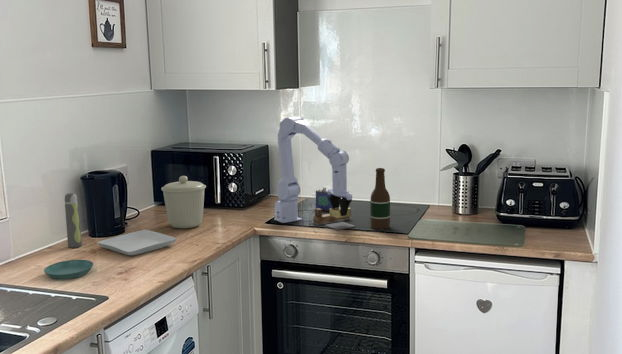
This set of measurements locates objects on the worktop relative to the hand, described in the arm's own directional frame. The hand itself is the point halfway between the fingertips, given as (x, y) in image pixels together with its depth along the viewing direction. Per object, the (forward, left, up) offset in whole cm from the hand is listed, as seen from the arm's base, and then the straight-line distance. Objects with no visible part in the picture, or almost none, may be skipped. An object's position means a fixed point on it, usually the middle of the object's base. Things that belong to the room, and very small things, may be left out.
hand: (339, 214), depth 246 cm
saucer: (-104, +2, -6) cm, 104 cm away
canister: (-51, +39, -5) cm, 64 cm away
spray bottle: (-96, +34, -5) cm, 102 cm away
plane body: (+2, +9, -5) cm, 10 cm away
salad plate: (-77, +19, -6) cm, 80 cm away
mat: (0, 0, -5) cm, 5 cm away
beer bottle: (+12, -11, -5) cm, 17 cm away
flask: (+11, +28, -5) cm, 31 cm away
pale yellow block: (0, 0, 0) cm, 1 cm away
